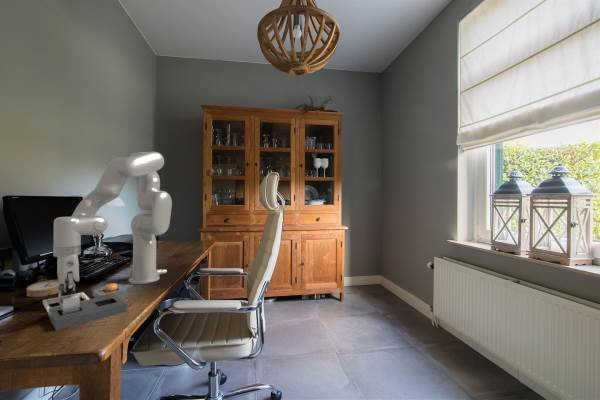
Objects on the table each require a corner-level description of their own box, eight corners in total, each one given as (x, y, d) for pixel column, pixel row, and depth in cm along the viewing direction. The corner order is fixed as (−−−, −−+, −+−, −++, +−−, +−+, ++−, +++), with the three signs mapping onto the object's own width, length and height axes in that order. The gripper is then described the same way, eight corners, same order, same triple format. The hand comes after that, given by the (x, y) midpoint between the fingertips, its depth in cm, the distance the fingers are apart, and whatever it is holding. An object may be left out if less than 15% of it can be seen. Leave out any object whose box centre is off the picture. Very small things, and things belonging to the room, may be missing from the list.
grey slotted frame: (113, 302, 101) (114, 294, 101) (126, 312, 92) (126, 304, 92) (48, 317, 87) (48, 308, 87) (55, 332, 78) (55, 321, 78)
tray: (83, 295, 106) (83, 292, 106) (90, 303, 99) (90, 299, 99) (42, 304, 98) (42, 300, 98) (47, 313, 90) (47, 309, 90)
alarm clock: (19, 292, 101) (38, 275, 115) (20, 304, 102) (39, 285, 116) (57, 289, 106) (71, 272, 119) (58, 300, 107) (72, 283, 120)
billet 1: (72, 300, 101) (72, 281, 101) (75, 302, 98) (75, 283, 98) (58, 303, 98) (58, 283, 98) (59, 306, 95) (60, 286, 95)
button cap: (115, 288, 108) (115, 282, 108) (118, 290, 105) (118, 284, 105) (103, 291, 105) (103, 284, 105) (106, 293, 102) (106, 287, 102)
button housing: (120, 291, 111) (120, 284, 111) (127, 297, 106) (127, 289, 106) (93, 297, 105) (93, 290, 105) (99, 304, 99) (99, 295, 99)
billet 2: (76, 314, 89) (76, 293, 89) (79, 318, 86) (79, 296, 86) (59, 318, 86) (60, 296, 85) (62, 322, 83) (62, 299, 83)
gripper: (86, 252, 95) (85, 303, 95) (75, 246, 107) (74, 291, 107) (57, 255, 90) (57, 309, 90) (49, 248, 101) (49, 296, 101)
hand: (66, 299), depth 98 cm, fingers open, 6 cm apart
